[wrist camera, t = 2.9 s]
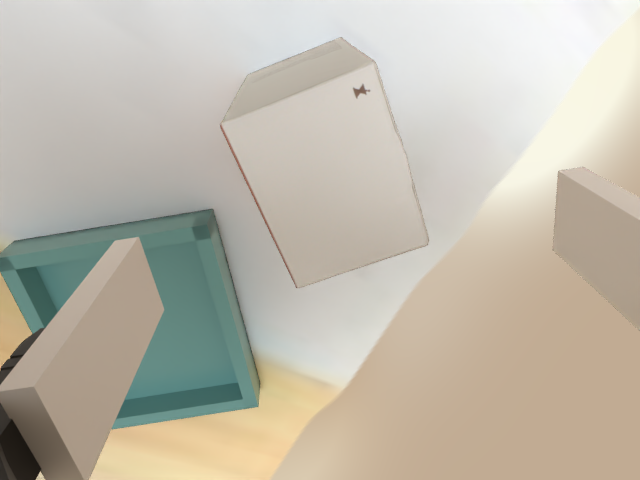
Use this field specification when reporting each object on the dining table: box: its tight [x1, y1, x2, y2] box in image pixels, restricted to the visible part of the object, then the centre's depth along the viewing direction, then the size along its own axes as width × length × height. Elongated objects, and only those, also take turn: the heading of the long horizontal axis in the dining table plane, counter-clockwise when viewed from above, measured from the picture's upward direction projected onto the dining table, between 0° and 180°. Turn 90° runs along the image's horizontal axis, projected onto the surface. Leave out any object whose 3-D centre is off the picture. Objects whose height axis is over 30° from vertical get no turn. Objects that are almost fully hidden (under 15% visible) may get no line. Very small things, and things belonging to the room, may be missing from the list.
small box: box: [220, 37, 429, 288], centre depth 25 cm, size 8×6×13 cm
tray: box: [0, 209, 260, 429], centre depth 35 cm, size 14×16×3 cm
